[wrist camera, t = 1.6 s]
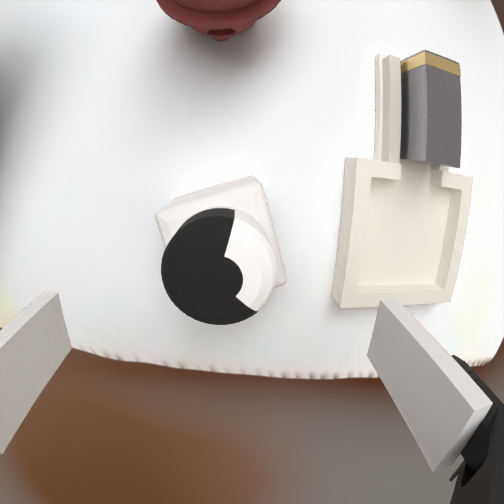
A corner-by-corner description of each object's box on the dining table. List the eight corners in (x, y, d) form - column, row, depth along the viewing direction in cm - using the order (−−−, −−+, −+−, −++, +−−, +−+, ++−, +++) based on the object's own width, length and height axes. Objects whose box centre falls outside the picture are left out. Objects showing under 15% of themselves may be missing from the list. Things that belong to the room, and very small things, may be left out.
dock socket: (331, 295, 32) (340, 308, 29) (347, 50, 24) (358, 41, 21) (436, 291, 32) (450, 301, 30) (457, 82, 25) (473, 78, 22)
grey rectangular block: (397, 158, 26) (425, 161, 22) (397, 62, 23) (424, 49, 19) (430, 164, 27) (460, 168, 22) (430, 72, 24) (459, 63, 19)
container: (198, 274, 30) (177, 351, 18) (173, 198, 28) (127, 232, 16) (275, 253, 30) (302, 321, 18) (254, 174, 28) (270, 189, 15)
